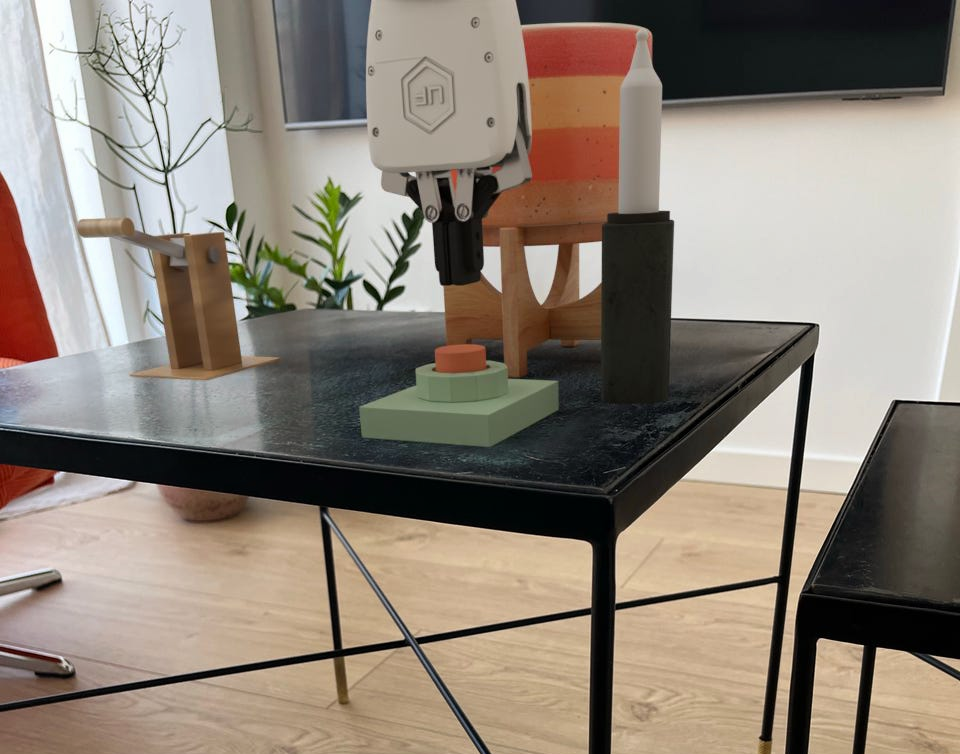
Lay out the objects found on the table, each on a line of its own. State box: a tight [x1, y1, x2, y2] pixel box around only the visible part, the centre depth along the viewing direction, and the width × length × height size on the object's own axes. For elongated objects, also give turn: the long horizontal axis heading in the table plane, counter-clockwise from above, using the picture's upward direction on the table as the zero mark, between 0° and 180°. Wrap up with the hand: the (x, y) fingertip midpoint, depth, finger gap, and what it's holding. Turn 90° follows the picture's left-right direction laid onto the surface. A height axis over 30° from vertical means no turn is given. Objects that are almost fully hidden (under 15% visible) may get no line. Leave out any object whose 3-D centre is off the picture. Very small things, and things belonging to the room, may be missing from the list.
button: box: [434, 343, 487, 373], centre depth 72 cm, size 4×4×2 cm
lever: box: [76, 217, 189, 272], centre depth 88 cm, size 12×5×2 cm, turn 154°
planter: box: [442, 21, 653, 379], centre depth 92 cm, size 20×20×27 cm
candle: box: [600, 29, 675, 404], centre depth 75 cm, size 5×5×25 cm
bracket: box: [129, 231, 281, 381], centre depth 94 cm, size 11×9×13 cm
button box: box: [358, 360, 560, 448], centre depth 73 cm, size 12×10×4 cm
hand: (460, 282), depth 70 cm, fingers closed
